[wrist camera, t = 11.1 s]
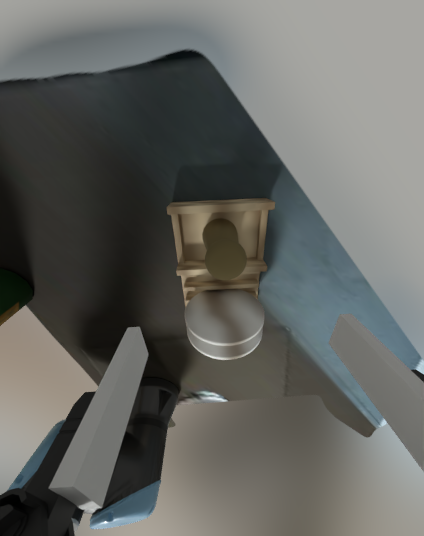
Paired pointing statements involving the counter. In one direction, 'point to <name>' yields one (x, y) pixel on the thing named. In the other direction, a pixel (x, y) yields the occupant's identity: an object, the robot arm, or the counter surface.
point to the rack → (215, 290)
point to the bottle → (12, 294)
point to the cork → (223, 250)
